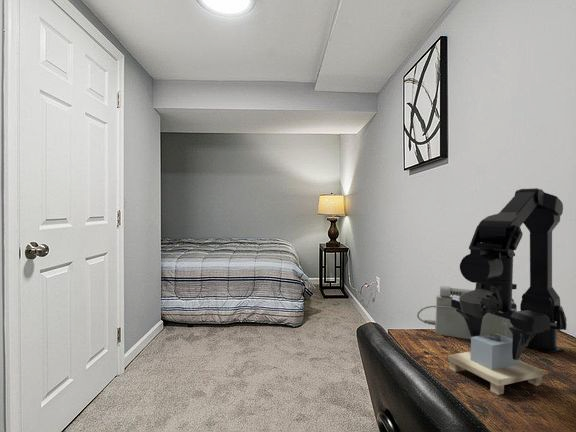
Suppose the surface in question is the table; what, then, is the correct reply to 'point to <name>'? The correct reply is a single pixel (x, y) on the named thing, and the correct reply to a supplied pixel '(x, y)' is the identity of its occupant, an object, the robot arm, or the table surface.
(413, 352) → the table surface
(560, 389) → the table surface
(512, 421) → the table surface
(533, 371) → the stand
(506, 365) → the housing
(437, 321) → the geiger counter
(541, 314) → the robot arm
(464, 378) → the table surface
